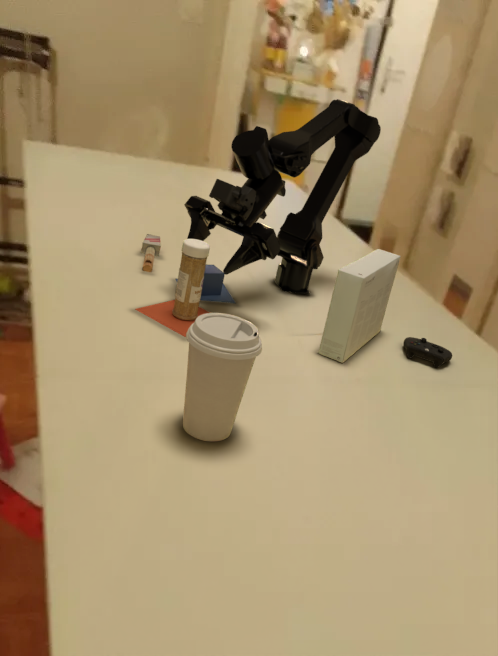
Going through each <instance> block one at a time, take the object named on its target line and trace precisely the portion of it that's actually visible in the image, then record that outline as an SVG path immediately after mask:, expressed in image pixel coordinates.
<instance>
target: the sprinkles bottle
mask: <svg viewBox="0 0 498 656" xmlns="http://www.w3.org/2000/svg"><path fill="white" fill-rule="evenodd" d="M181 245H182V246H181V257H180V264H179V265H180V266H179V268H178V275H177V279H178V281H176V288H175V294H174V300H175V303H174V309H173V311H172V313H173V315H174V316H175V317H177V318H179V319H182V320H187V321H189V320H195V319H196V318H197V317H198V307H200V301H201V300H200V298H201V291H202V286H203V280H204V272H205V266H206V265H207V259H208V257H209V255H210V249H211V248H210V247H211V246H210V244H209V243H208V242H206V241H205V240H204V241H201V240H197V239H187V238H186V239H183V241H182V244H181Z"/></svg>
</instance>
